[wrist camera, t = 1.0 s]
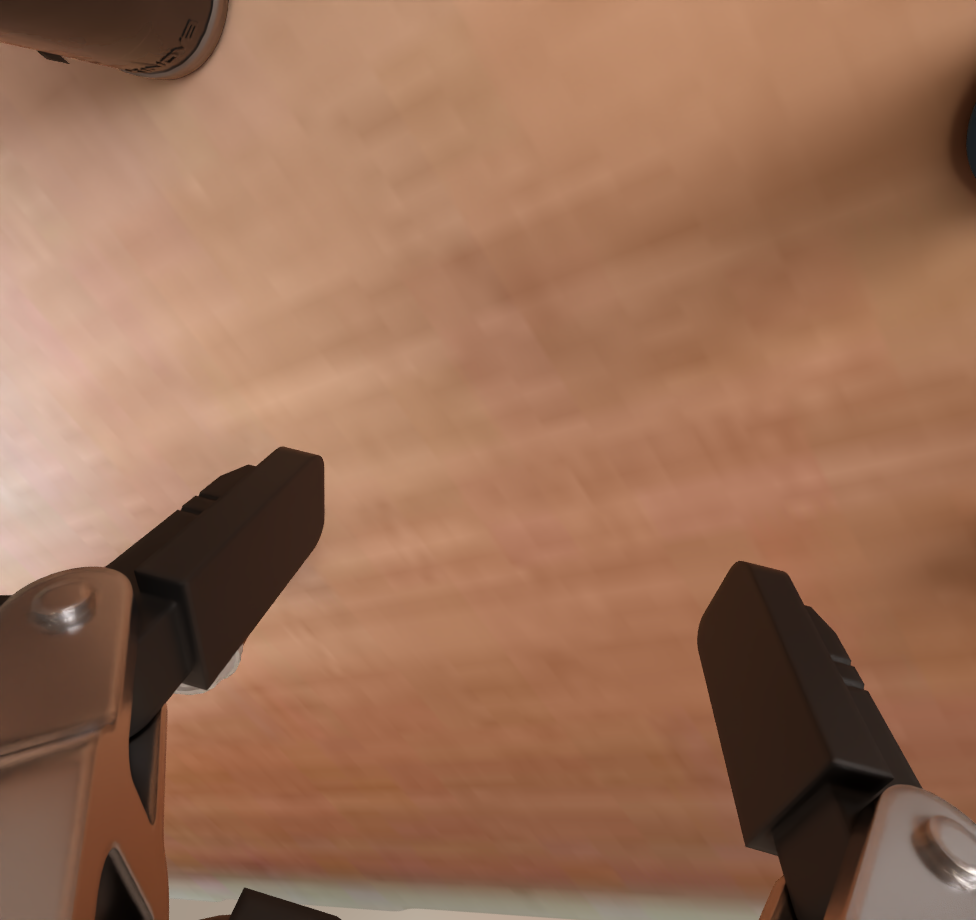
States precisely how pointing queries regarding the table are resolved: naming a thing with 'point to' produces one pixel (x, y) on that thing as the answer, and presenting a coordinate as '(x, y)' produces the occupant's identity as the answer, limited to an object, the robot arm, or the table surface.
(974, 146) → the soda can
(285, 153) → the table surface
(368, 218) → the table surface
